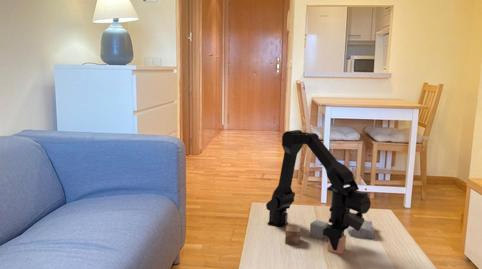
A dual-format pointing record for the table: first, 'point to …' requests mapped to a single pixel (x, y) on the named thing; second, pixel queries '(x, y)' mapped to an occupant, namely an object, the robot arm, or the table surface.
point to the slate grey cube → (317, 229)
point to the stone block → (362, 231)
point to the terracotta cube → (340, 245)
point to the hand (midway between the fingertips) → (336, 247)
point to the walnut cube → (292, 235)
